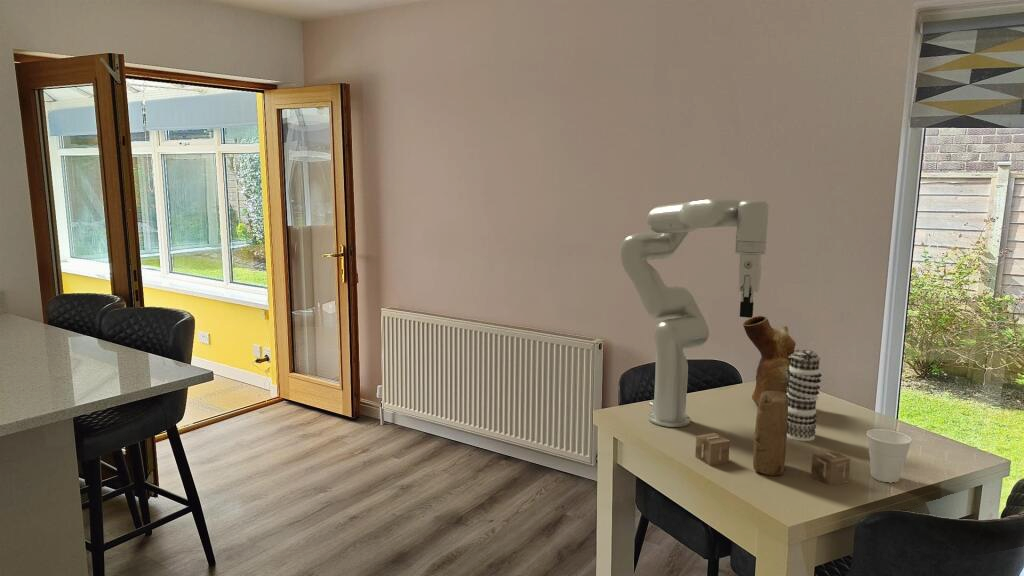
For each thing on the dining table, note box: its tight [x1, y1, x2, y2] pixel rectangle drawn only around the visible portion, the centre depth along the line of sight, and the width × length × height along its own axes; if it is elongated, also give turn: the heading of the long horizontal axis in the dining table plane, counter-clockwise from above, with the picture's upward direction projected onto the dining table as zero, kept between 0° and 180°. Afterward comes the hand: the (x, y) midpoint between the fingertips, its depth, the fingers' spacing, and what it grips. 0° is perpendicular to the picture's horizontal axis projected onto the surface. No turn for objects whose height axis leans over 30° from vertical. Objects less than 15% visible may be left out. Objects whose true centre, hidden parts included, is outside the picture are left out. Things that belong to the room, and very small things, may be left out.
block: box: [752, 391, 788, 476], centre depth 174 cm, size 11×8×20 cm
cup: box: [866, 428, 913, 484], centre depth 170 cm, size 10×10×11 cm
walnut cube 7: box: [810, 449, 851, 486], centre depth 170 cm, size 6×6×6 cm
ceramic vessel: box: [742, 315, 797, 406], centre depth 222 cm, size 16×22×30 cm
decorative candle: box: [786, 348, 822, 442], centre depth 197 cm, size 9×9×25 cm
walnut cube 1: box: [694, 432, 731, 467], centre depth 180 cm, size 6×6×6 cm
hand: (746, 316), depth 182 cm, fingers closed
